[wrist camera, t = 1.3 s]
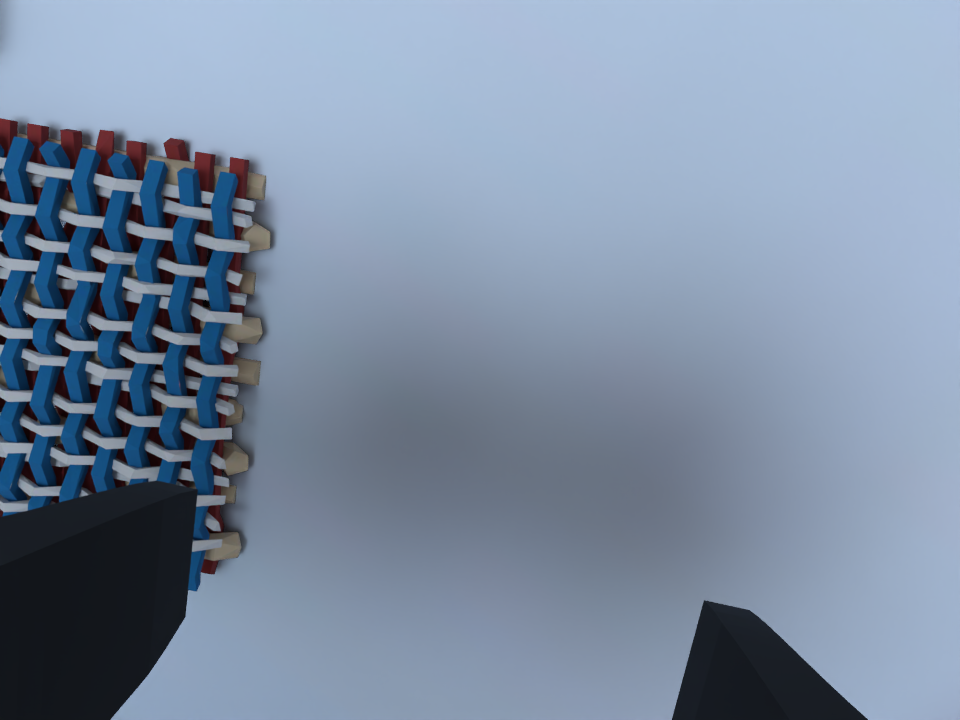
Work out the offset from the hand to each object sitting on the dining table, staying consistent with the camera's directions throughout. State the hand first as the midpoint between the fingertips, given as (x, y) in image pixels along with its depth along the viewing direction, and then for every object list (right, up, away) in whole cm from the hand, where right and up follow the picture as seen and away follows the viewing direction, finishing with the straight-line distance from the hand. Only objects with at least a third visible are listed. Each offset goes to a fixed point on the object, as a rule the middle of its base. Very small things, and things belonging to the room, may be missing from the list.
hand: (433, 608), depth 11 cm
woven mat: (-10, +4, +10) cm, 14 cm away
